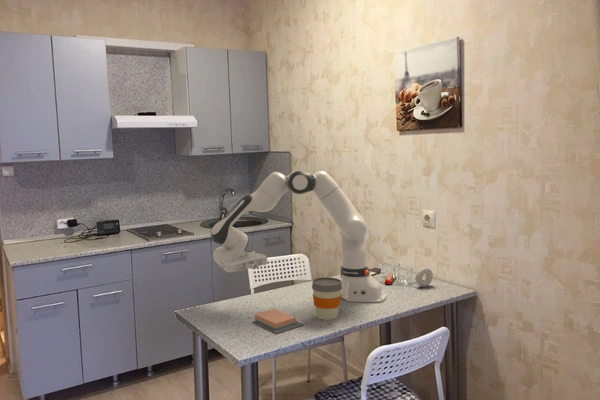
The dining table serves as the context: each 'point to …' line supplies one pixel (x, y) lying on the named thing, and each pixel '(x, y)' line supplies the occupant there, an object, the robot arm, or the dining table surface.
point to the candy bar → (389, 279)
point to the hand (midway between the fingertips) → (255, 266)
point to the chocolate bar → (375, 271)
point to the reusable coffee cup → (327, 297)
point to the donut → (419, 276)
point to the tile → (275, 319)
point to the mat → (280, 328)
